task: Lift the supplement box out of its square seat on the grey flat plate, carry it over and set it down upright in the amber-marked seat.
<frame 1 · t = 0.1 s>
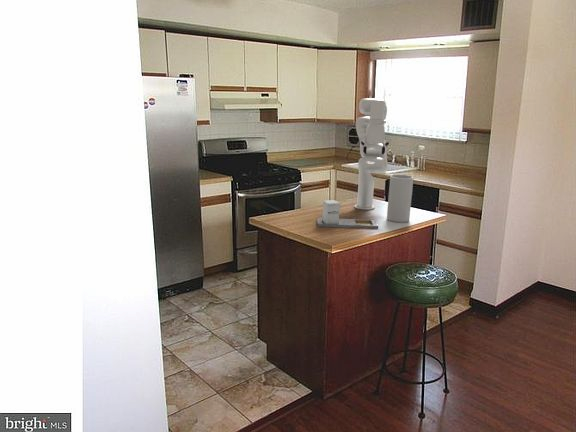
hand: (373, 154, 254), 37 cm above the table, tool pointing down, fingers open, 9 cm apart
cylinder vase: (397, 220, 261), on the table
supplement box: (330, 224, 249), resting in grey flat plate
grey flat plate: (346, 224, 248), on the table
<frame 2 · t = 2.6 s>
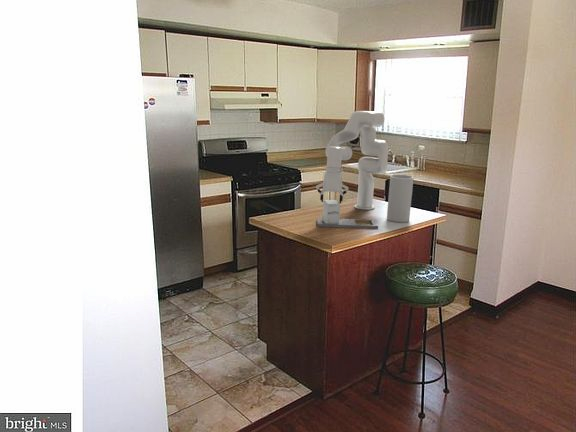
hand: (331, 202, 244), 13 cm above the table, tool pointing down, fingers open, 9 cm apart
supplement box: (330, 224, 249), resting in grey flat plate, touching gripper
everything else where it was.
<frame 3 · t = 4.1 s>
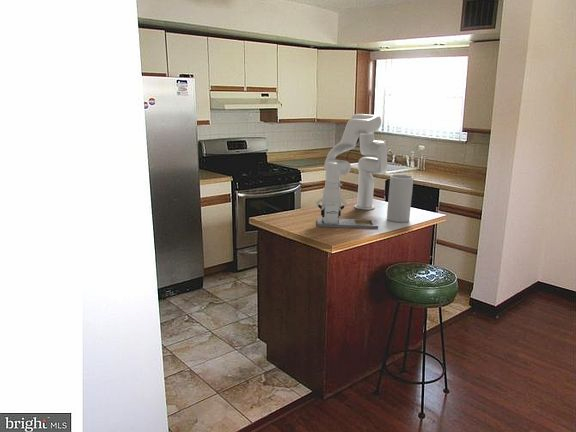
hand: (330, 216, 248), 4 cm above the table, tool pointing down, fingers closed on supplement box, 7 cm apart
supplement box: (330, 224, 249), resting in grey flat plate, touching gripper
everything else where it was.
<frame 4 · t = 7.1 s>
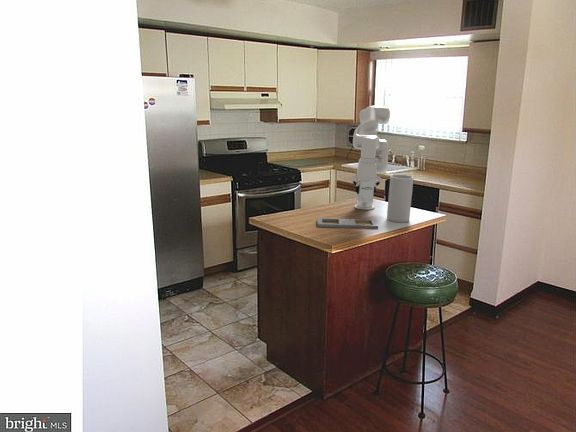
hand: (365, 193, 244), 18 cm above the table, tool pointing down, fingers closed on supplement box, 7 cm apart
supplement box: (364, 201, 245), point 13 cm above the table, touching gripper
everything else where it was.
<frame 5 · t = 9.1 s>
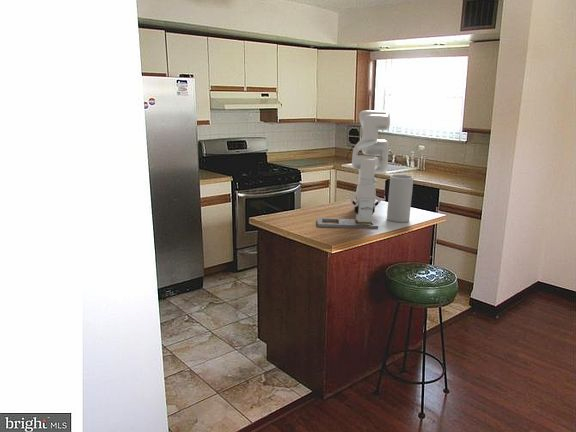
hand: (364, 213, 246), 7 cm above the table, tool pointing down, fingers closed on supplement box, 7 cm apart
supplement box: (363, 221, 247), point 2 cm above the table, touching gripper
everything else where it was.
when the fingers open (5 cm above the table, at t = 10.5 s): supplement box drops 1 cm, resting on grey flat plate.
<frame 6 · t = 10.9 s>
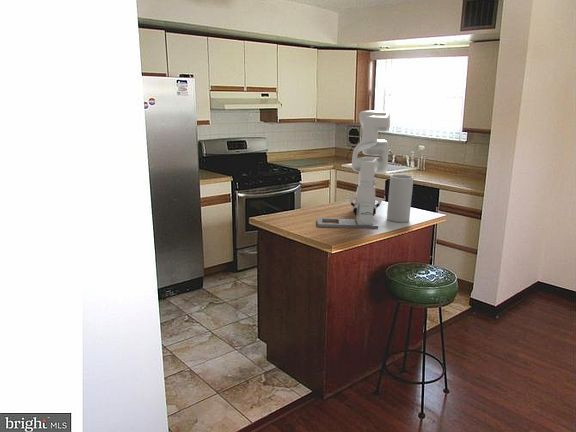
hand: (364, 215, 246), 6 cm above the table, tool pointing down, fingers open, 9 cm apart
supplement box: (364, 225, 248), resting on grey flat plate
everything else where it was.
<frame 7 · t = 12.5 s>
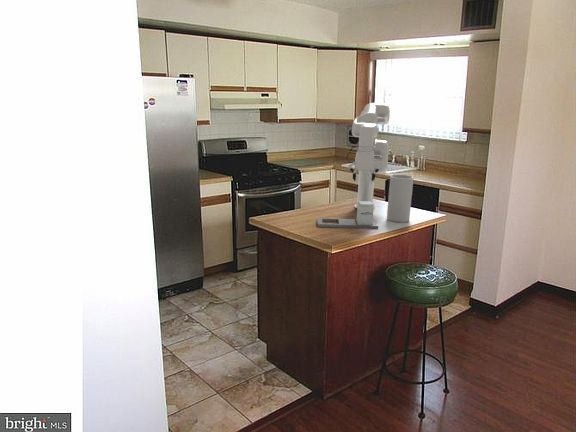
hand: (363, 180, 247), 24 cm above the table, tool pointing down, fingers open, 9 cm apart
nothing on the table moved.
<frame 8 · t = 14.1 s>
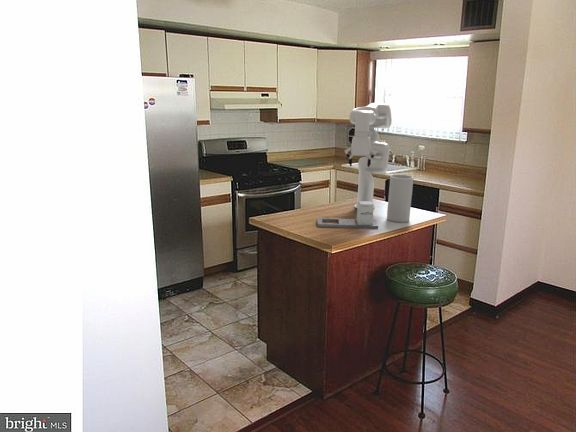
hand: (359, 166, 252), 30 cm above the table, tool pointing down, fingers open, 9 cm apart
nothing on the table moved.
at the end: supplement box 0.3 cm from the target spot on the grey flat plate, point 0.0 cm above the grey flat plate's base; supplement box tilted 0°; the gripper is holding nothing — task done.
